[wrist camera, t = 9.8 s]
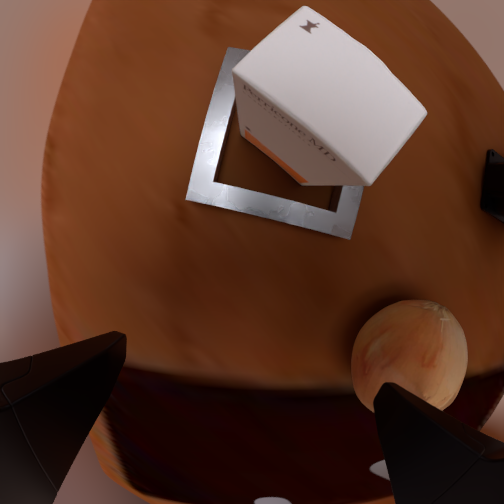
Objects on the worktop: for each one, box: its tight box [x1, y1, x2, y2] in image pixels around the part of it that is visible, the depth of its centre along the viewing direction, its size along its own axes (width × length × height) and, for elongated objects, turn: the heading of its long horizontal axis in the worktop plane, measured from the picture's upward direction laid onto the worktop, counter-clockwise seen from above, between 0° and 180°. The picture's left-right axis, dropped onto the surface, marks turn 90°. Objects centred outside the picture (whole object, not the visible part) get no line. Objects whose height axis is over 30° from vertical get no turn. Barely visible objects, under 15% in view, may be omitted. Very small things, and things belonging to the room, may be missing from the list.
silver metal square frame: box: [186, 47, 364, 240], centre depth 18 cm, size 11×11×2 cm
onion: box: [351, 300, 468, 412], centre depth 18 cm, size 10×10×10 cm
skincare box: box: [232, 6, 427, 186], centre depth 13 cm, size 6×4×12 cm
